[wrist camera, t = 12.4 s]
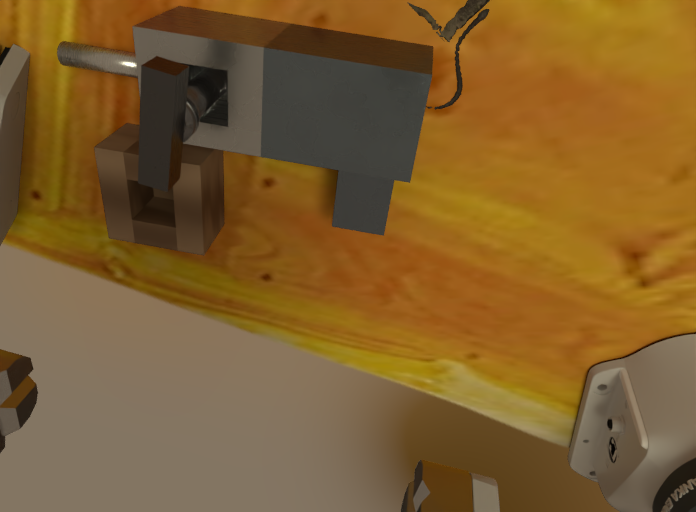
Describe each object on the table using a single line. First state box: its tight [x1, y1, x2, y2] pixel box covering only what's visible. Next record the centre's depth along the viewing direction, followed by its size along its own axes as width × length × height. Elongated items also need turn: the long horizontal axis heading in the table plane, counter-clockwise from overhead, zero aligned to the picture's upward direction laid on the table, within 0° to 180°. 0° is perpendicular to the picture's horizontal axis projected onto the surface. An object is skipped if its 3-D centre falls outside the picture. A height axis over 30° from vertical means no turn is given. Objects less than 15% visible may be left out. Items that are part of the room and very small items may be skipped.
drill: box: [57, 6, 433, 235], centre depth 38 cm, size 25×13×7 cm, turn 83°
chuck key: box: [138, 56, 228, 192], centre depth 33 cm, size 3×7×11 cm, turn 165°
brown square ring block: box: [94, 123, 224, 255], centre depth 43 cm, size 8×8×5 cm
